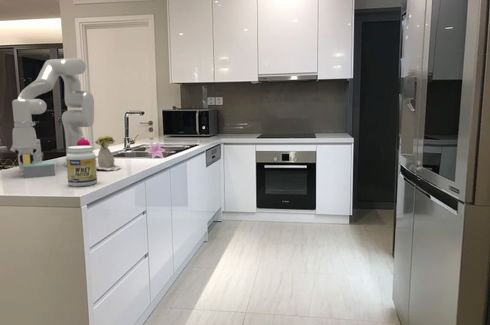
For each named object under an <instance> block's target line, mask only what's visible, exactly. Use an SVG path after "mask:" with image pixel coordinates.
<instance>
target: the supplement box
mask: <svg viewBox="0 0 490 325" xmlns="http://www.w3.org/2000/svg"><path fill="white" fill-rule="evenodd" d="M36 139H37V143H38V144H39V146H40V147H41V146H42V145H41V139H39V138H36ZM36 148H37V147H36ZM32 149H33V150H34V149H35V148H32ZM16 150H18V151H19V149H16ZM24 153H30V149H22V155H23V154H24ZM17 160H18V162H17V163H18V170H19V173H24V167H23V164H22V162H20V156H19V155H18V154H17ZM32 162H43V156H42V147H41V149H39V150H37V151H36V152H35V153H34V154H33V161H32Z"/></svg>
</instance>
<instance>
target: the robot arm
mask: <svg viewBox="0 0 490 325" xmlns="http://www.w3.org/2000/svg"><path fill="white" fill-rule="evenodd" d="M86 69H87V65H86V63H85V61H84V59H83V58H80V57H79V58H78V57H76V58H74V57H73V58H71V57H70V58H67V57H66V58H53V59H48V60H46V61H45V62H44V64H43V66H42V68H40V72H39V73H38V76H37V77H36V79H35V80H34V81H32V82H30V84H28V85H27V86H25V88H24V89H22V90H21V92H19V95H18V96H17V99H13V100H12V102H11V105H12V114H13V123H14V124H13V125H14V128H12V145H11V147H10V149H9V151H11V152H14V153H15V154H16V155H17V156H18V155H19V156H20V162H22V164H23V155H22V149H30V163H32V161H33V154H34V153H35V152H36V151H37V150H39V149H41V150H42V147H40V146H41V145H40V146H39V144H38V143H37V139H38V138H37V133H36V129H35V127H34V126H36V122H33V118H32V115H41V114H43V113H45V112H46V110H47V106H48V105H47V103H46V102H45V101H44V100H43V99H40V98H36V97H38V96H40V95H42V94H46V93H48V92H50V91H52V90H53V89H54V86H55V85H56V83H57V80H58V78H59V77H61V78H62V80H63V82H64V103H65V106H66V107H68V108H71V109H70V110H69V109H68V110H65V111H64V112H63V113H62V115H61V122H62V125H63V130H64V138H65V139H64V140H65V148H66V150H65V151H66V155H67V154H68V153H69V151H68V147H72V146H77V142H78V141H79V140H81V137H82V136H84V133H83V131H82V129H81V128H90V127H92V126H93V124H94V121H95V99H94V96H93V94H92V93H91V92H90V91H88V90H82V88H81V85H82V84H81V80H80V78H79V77H78V75H81V74H84V73H85V72H86ZM75 108H76V109H75ZM80 109H81V110H80ZM36 147H37V148H36ZM32 148H35V149H34V150H33V149H32ZM17 149H19V151H18V150H17ZM64 166H65V167H67V162H65V163H64Z"/></svg>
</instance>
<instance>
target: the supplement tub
mask: <svg viewBox="0 0 490 325" xmlns="http://www.w3.org/2000/svg"><path fill="white" fill-rule="evenodd" d="M68 151H69V153H68V154H67V153H66V157H65V159H66V163H67V166H66V172H67V183H68V186H72V187H86V186H88V185H89V186H92V185H94V184H96V183H97V182H98V177H97V176H98V175H97V169H96V167H97V159H96V154H95V152H94V147H93V145H90V146H72V147H68ZM89 186H88V187H89Z"/></svg>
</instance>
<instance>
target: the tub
mask: <svg viewBox="0 0 490 325" xmlns="http://www.w3.org/2000/svg"><path fill="white" fill-rule="evenodd" d="M55 171H56V170H55V165H48V166H35V167H24V172H23V173H24V178H25V179H30V178H31V179H32V178H42V177H54V176H56V172H55Z"/></svg>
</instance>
